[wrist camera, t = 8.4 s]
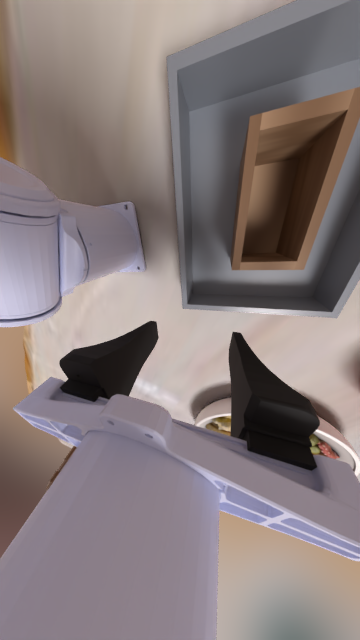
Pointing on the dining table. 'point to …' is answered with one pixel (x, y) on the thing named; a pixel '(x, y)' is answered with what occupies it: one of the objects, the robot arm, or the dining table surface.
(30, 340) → the dining table surface
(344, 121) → the walnut crate
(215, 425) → the bowl
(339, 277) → the grey crate
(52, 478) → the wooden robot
